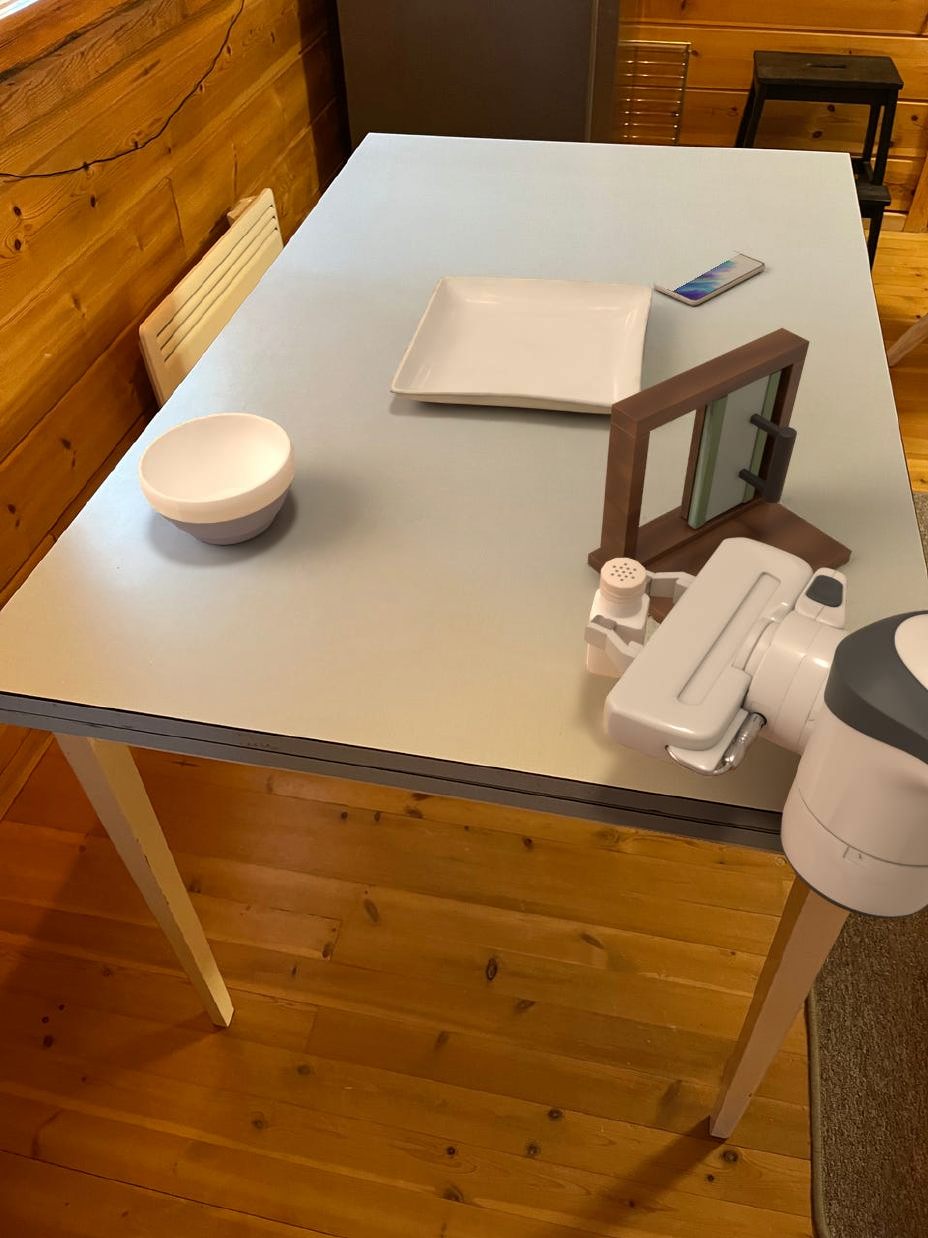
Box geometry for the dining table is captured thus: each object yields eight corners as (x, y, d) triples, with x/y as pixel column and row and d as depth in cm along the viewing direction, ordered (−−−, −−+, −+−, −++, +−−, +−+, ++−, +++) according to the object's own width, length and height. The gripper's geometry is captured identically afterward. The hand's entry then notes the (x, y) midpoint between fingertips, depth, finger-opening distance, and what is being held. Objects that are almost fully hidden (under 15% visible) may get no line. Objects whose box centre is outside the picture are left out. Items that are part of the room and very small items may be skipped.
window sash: (787, 521, 85) (822, 391, 75) (729, 554, 82) (757, 423, 72) (744, 493, 88) (772, 365, 78) (687, 524, 85) (709, 394, 75)
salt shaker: (636, 684, 71) (648, 595, 64) (584, 675, 72) (590, 586, 65) (643, 646, 73) (655, 557, 67) (593, 638, 74) (600, 549, 67)
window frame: (849, 560, 84) (907, 389, 71) (695, 653, 77) (730, 482, 64) (734, 485, 92) (768, 320, 80) (587, 563, 85) (599, 395, 73)
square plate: (441, 300, 122) (439, 271, 119) (651, 311, 118) (654, 282, 115) (389, 414, 104) (385, 384, 101) (635, 433, 99) (639, 402, 96)
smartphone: (768, 263, 123) (694, 302, 117) (766, 269, 124) (693, 308, 118) (724, 246, 127) (651, 282, 121) (723, 252, 128) (650, 288, 121)
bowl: (328, 485, 95) (317, 422, 90) (266, 578, 86) (249, 514, 80) (203, 464, 99) (185, 402, 93) (130, 552, 89) (105, 489, 84)
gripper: (719, 815, 59) (535, 722, 65) (832, 621, 71) (666, 556, 76) (735, 757, 55) (535, 662, 61) (853, 559, 66) (675, 496, 72)
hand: (609, 602), depth 69 cm, fingers closed on salt shaker, 4 cm apart
